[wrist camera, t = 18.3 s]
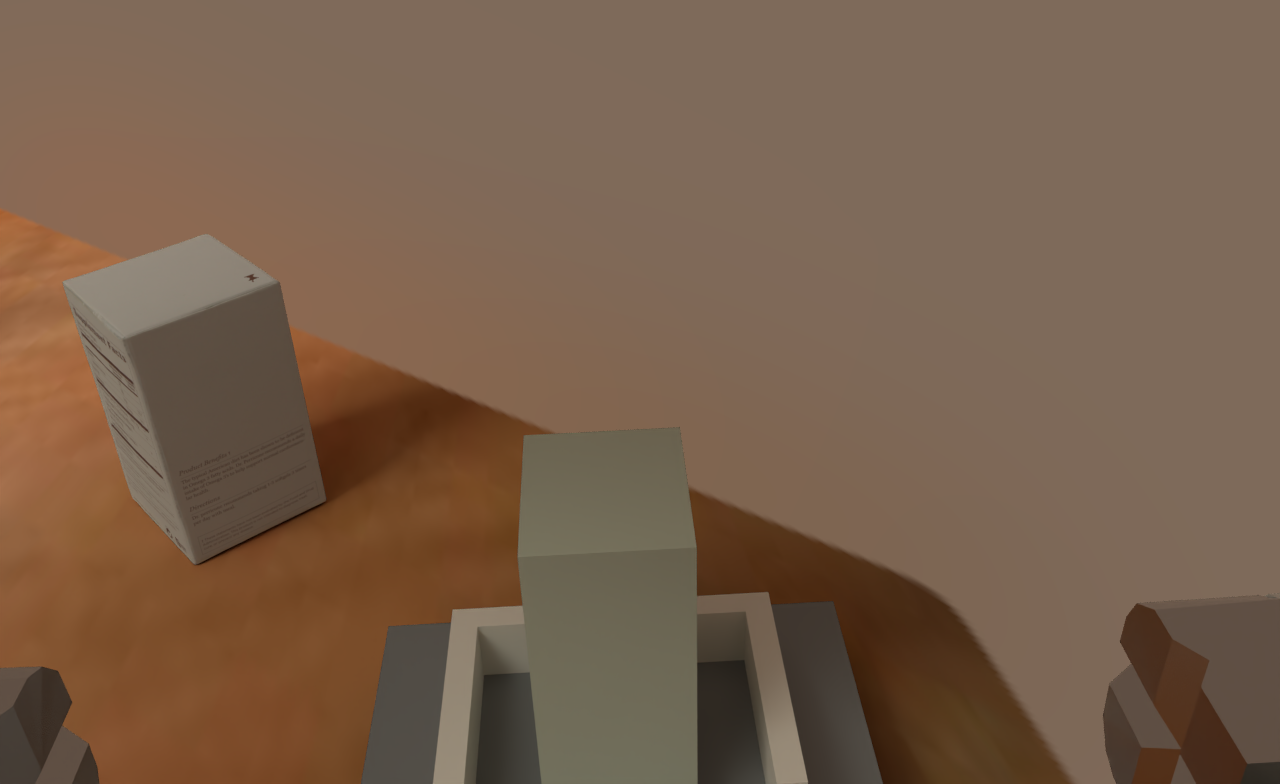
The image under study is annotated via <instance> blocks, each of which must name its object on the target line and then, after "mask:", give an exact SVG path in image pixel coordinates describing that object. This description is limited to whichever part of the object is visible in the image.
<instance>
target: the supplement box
mask: <svg viewBox="0 0 1280 784" xmlns="http://www.w3.org/2000/svg"><path fill="white" fill-rule="evenodd" d="M62 283H63V286H64V289H65V292H66V296H67V299H68V302H69V305H70V308H71V311H72V314H73V317H74V320H75V323H76V326H77V329H78V332H79V335H80V338H81V341H82V344H83V347H84V350H85V353H86V356H87V359H88V362H89V365H90V368H91V371H92V374H93V377H94V380H95V383H96V386H97V389H98V392H99V396H100V399H101V402H102V405H103V408H104V411H105V414H106V418H107V421H108V424H109V427H110V430H111V434H112V436H113V440H114V443H115V446H116V449H117V452H118V456H119V459H120V462H121V465H122V469H123V472H124V475H125V478H126V481H127V484H128V487H129V490H130V493H131V496H132V498H133V499H134V500H135V501H136V502H137V503H138V504H139V505H140V506H141V507H142V509H143V510H144V511H145V512H146V513H147V514H148V515H149V516H150V517H151V519H152V520H153V521H154V522H155V523H156V524H157V525H158V526H159V527H160V528H161V529H162V530H163V531H164V533H165V534H166V535H167V536H168V537H169V538H170V539H171V540H172V541H173V542H174V543H175V544H176V546H177V547H178V548H179V549H180V550H181V551H182V552H183V553H184V554H185V555H186V556H187V557H188V558H189V560H190V561H191V562H192V563H193V564H195V565H196V564H199V563H201V562H203V561H205V560H207V559H209V558H211V557H213V556H215V555H217V554H219V553H221V552H223V551H225V550H227V549H229V548H231V547H233V546H235V545H237V544H239V543H241V542H243V541H245V540H247V539H249V538H251V537H253V536H255V535H257V534H259V533H261V532H263V531H265V530H267V529H269V528H271V527H274V526H276V525H278V524H280V523H282V522H284V521H286V520H288V519H290V518H292V517H294V516H296V515H298V514H300V513H302V512H304V511H306V510H308V509H310V508H312V507H314V506H317V505H319V504H321V503H323V502H325V501H326V495H325V490H324V485H323V480H322V476H321V472H320V467H319V462H318V458H317V454H316V448H315V444H314V439H313V435H312V430H311V426H310V421H309V416H308V412H307V407H306V402H305V398H304V393H303V389H302V384H301V379H300V375H299V370H298V365H297V361H296V356H295V351H294V347H293V342H292V337H291V333H290V328H289V324H288V319H287V314H286V310H285V305H284V301H283V295H282V291H281V286H280V282H279V281H277V280H275V279H274V278H272V277H271V276H270V275H268V274H267V273H265V272H264V271H263V270H261V269H260V268H259V267H257V266H256V265H254V264H253V263H251V262H250V261H248V260H247V259H245V258H243V257H242V256H240V255H239V254H238V253H236V252H235V251H233V250H232V249H230V248H229V247H227V246H226V245H224V244H222V243H221V242H219V241H218V240H217V239H215V238H214V237H212V236H210V235H208V234H204V235H201V236H198V237H195V238H192V239H190V240H187V241H184V242H181V243H178V244H175V245H172V246H169V247H166V248H163V249H160V250H158V251H154V252H152V253H149V254H146V255H143V256H139V257H137V258H133V259H130V260H127V261H124V262H121V263H118V264H115V265H112V266H109V267H106V268H103V269H100V270H97V271H94V272H91V273H88V274H85V275H81V276H78V277H75V278H72V279H69V280H65V281H63V282H62Z"/></svg>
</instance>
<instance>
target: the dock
mask: <svg viewBox="0 0 1280 784" xmlns="http://www.w3.org/2000/svg"><path fill="white" fill-rule="evenodd" d="M697 778H698V784H883V782H882V778H881V775H880V771H879V767H878V764H877V760H876V756H875V753H874V749H873V745H872V742H871V738H870V734H869V731H868V727H867V723H866V720H865V716H864V712H863V709H862V705H861V701H860V698H859V694H858V690H857V687H856V683H855V679H854V676H853V672H852V668H851V665H850V661H849V657H848V654H847V650H846V646H845V643H844V639H843V635H842V632H841V628H840V624H839V621H838V617H837V613H836V610H835V606H834V602H833V601H827V602H809V603H792V604H774V605H771V602H770V597H769V592H759V593H741V594H723V595H706V596H697ZM361 784H542V783H541V774H540V764H539V755H538V746H537V736H536V727H535V717H534V708H533V698H532V689H531V680H530V670H529V661H528V651H527V642H526V632H525V623H524V614H523V606H510V607H492V608H474V609H457V610H453V611H452V620H451V623H438V624H420V625H403V626H389V627H388V632H387V638H386V644H385V650H384V655H383V661H382V667H381V672H380V678H379V684H378V690H377V695H376V701H375V707H374V712H373V718H372V724H371V729H370V735H369V741H368V747H367V752H366V758H365V764H364V769H363V775H362V781H361Z"/></svg>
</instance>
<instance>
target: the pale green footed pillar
mask: <svg viewBox="0 0 1280 784" xmlns="http://www.w3.org/2000/svg"><path fill="white" fill-rule="evenodd" d="M518 566H519V576H520V585H521V595H522V604H523V614H524V623H525V632H526V642H527V651H528V661H529V670H530V680H531V689H532V698H533V708H534V717H535V727H536V736H537V746H538V755H539V764H540V774H541V783H542V784H698V778H697V546H696V539H695V532H694V525H693V518H692V511H691V504H690V497H689V490H688V482H687V475H686V468H685V462H684V454H683V447H682V440H681V433H680V427H677V428H658V429H640V430H639V429H638V430H619V431H600V432H581V433H561V434H542V435H524V442H523V461H522V481H521V500H520V519H519V538H518Z"/></svg>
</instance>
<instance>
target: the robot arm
mask: <svg viewBox="0 0 1280 784" xmlns="http://www.w3.org/2000/svg"><path fill="white" fill-rule="evenodd" d="M1120 643H1121V644H1122V646H1123V648H1124V650H1125V652H1126V654H1127V656H1128V658H1129V660H1130V661H1131V663H1132V664H1131V665H1130V666H1128V668H1126V669H1125V670H1124V671H1123V672H1122V673H1121V674H1120V675H1118V676H1117V677H1116V678H1115V679H1114V680H1113V681H1112V682H1111V683H1110V684H1109V689H1108V693H1107V699H1106V704H1105V709H1104V713H1103V719H1104V733H1105V747H1106V752H1107V756H1108V760H1109V763H1110V767H1111V770H1112V774H1113V777H1114V779H1115V781H1116V784H1280V593H1277V594H1268V595H1266V596H1259V595H1256V596H1239V597H1224V598H1209V599H1195V600H1179V601H1164V602H1150V603H1137V604H1136V605H1135V606H1134V608H1133V609H1132V610H1131V612H1130V613H1129V614H1128V616H1127V617H1126V621H1125V624H1124V628H1123V632H1122V635H1121V640H1120ZM71 704H72V701H71V699H70V696H69V694H68V692H67V690H66V688H65V685H64V683H63V681H62V679H61V677H60V674H59V672H58V671H56V670H52V669H49V668H45V667H18V668H0V784H99V777H98V770H97V765H96V762H95V760H94V757H93V754H92V752H91V749H90V746H89V744H88V743H87V742H85V741H84V740H82V739H81V738H79V737H78V736H76V735H75V734H74V733H72V732H71V731H69V730H68V729H66V728H65V727H63V726H62V724H63V722H64V720H65V717H66V715H67V713H68V711H69V708H70V706H71Z"/></svg>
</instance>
